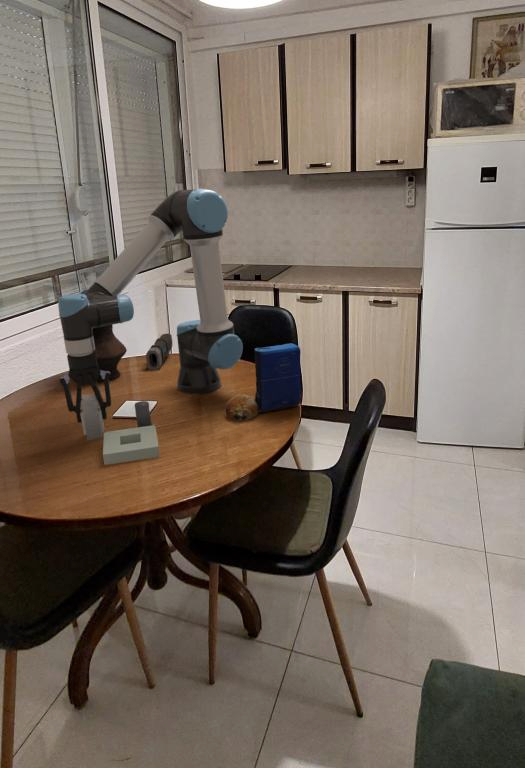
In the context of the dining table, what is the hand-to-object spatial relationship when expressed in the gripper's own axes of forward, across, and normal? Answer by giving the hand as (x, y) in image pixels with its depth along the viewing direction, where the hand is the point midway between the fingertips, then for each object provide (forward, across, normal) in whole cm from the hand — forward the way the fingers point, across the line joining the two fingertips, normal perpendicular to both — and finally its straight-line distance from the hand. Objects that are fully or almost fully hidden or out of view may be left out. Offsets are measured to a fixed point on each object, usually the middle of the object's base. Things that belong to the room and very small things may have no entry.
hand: (94, 430), depth 158 cm
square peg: (+2, 0, 0) cm, 2 cm away
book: (+2, -54, -1) cm, 54 cm away
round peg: (+2, -14, 0) cm, 14 cm away
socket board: (+2, -10, +12) cm, 16 cm away
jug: (+2, -1, -52) cm, 52 cm away
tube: (+2, -24, -68) cm, 72 cm away
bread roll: (+2, -43, 0) cm, 43 cm away
